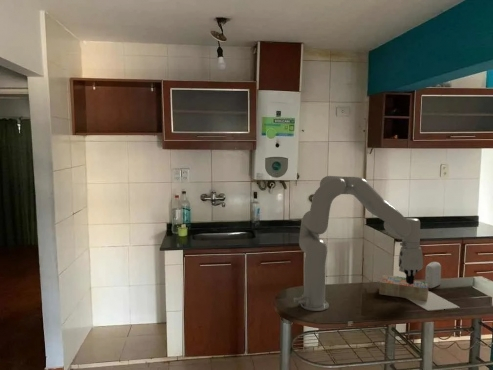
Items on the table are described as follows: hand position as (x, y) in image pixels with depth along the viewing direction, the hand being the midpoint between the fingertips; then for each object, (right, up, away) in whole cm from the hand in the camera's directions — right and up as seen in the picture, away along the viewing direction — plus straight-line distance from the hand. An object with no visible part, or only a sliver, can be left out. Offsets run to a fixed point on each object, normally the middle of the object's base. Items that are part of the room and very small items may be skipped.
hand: (409, 283), depth 176 cm
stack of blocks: (-3, -5, +2) cm, 6 cm away
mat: (+8, -8, +2) cm, 11 cm away
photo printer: (+21, -7, +20) cm, 29 cm away
